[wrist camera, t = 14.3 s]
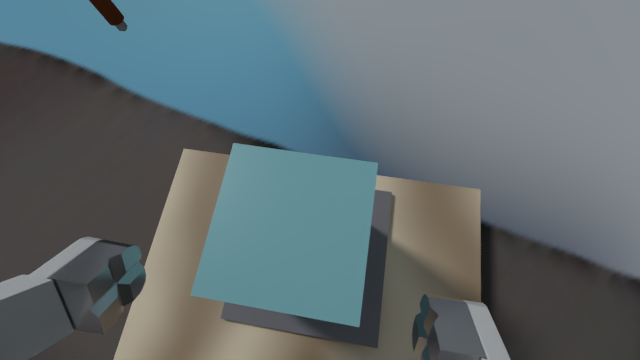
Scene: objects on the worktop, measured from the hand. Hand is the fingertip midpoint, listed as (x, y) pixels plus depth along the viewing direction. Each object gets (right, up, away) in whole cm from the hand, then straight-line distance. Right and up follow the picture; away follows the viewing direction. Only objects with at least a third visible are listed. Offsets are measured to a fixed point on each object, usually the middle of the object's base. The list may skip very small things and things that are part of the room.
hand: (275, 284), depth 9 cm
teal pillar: (+1, -1, +8) cm, 8 cm away
